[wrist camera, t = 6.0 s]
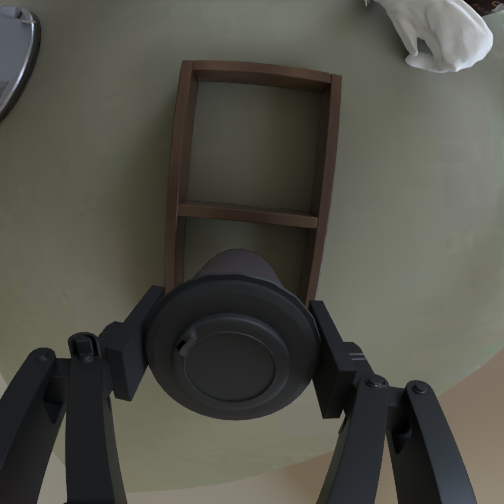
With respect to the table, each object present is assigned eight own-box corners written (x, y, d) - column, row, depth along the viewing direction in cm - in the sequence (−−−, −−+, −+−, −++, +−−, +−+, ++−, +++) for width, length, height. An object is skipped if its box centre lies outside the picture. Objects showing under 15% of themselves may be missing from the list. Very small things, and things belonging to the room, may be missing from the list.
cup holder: (174, 327, 26) (166, 344, 23) (190, 72, 20) (182, 60, 17) (299, 338, 26) (304, 357, 23) (331, 86, 21) (342, 75, 18)
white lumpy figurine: (484, 64, 12) (352, -56, 11) (429, 95, 20) (334, 1, 19) (512, 36, 11) (399, -70, 10) (461, 66, 19) (374, -20, 18)
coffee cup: (184, 222, 20) (129, 270, 11) (303, 235, 20) (347, 293, 11) (180, 327, 22) (144, 421, 13) (285, 338, 23) (305, 436, 13)
